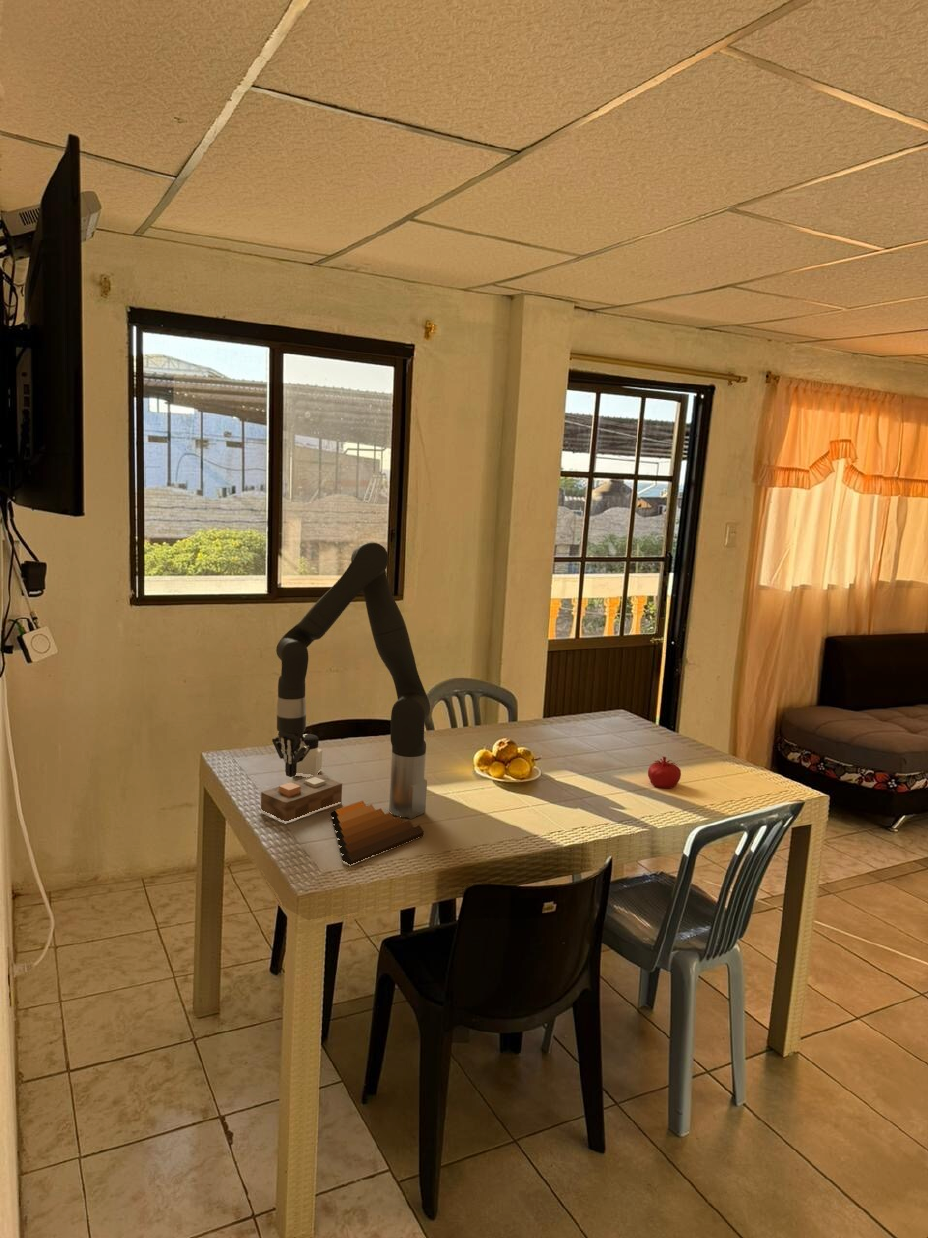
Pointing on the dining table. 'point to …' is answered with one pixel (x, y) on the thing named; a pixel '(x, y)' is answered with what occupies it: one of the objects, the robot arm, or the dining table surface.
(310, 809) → the board
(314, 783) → the beige rectangular block
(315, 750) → the medicine bottle
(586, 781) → the dining table surface
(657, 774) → the pomegranate
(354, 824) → the pan flute
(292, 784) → the orange-brown rectangular block
